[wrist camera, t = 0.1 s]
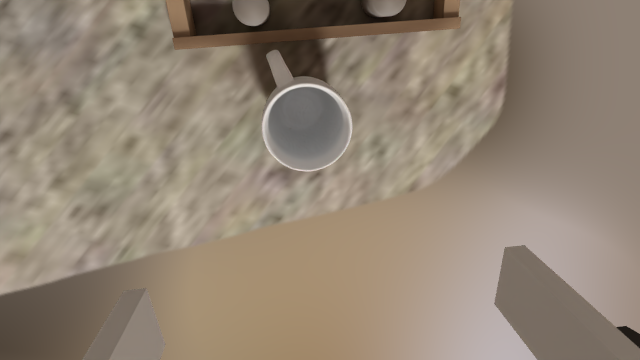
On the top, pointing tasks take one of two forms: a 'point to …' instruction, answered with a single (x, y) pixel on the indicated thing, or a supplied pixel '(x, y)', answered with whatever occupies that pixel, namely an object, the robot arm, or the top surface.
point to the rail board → (256, 11)
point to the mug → (304, 120)
